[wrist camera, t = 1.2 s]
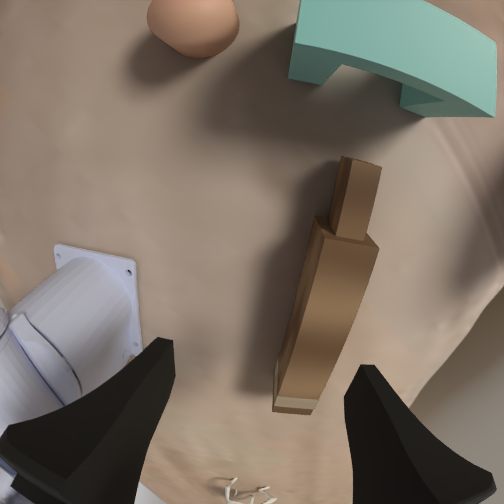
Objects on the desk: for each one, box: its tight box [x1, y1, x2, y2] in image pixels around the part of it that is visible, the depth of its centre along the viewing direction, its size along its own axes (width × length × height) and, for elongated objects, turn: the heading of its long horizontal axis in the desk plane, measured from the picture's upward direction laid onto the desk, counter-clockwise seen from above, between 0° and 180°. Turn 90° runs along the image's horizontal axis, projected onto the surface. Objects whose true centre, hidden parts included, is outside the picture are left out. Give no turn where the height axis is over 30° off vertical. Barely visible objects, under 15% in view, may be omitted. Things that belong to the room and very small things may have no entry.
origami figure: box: [225, 477, 277, 504], centre depth 33 cm, size 12×8×5 cm
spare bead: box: [147, 0, 239, 58], centre depth 12 cm, size 4×4×4 cm
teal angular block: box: [288, 0, 497, 118], centre depth 10 cm, size 4×9×7 cm, turn 82°
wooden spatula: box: [272, 156, 382, 415], centre depth 18 cm, size 18×3×4 cm, turn 172°
